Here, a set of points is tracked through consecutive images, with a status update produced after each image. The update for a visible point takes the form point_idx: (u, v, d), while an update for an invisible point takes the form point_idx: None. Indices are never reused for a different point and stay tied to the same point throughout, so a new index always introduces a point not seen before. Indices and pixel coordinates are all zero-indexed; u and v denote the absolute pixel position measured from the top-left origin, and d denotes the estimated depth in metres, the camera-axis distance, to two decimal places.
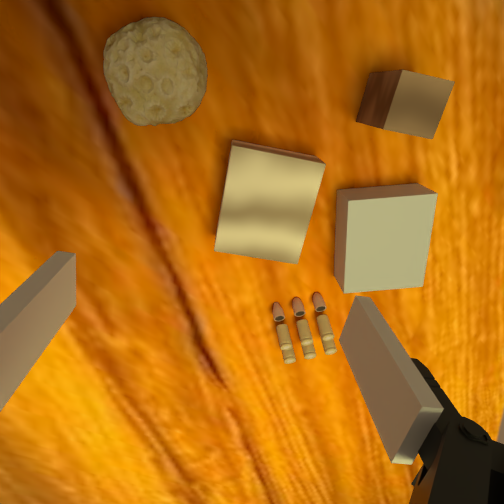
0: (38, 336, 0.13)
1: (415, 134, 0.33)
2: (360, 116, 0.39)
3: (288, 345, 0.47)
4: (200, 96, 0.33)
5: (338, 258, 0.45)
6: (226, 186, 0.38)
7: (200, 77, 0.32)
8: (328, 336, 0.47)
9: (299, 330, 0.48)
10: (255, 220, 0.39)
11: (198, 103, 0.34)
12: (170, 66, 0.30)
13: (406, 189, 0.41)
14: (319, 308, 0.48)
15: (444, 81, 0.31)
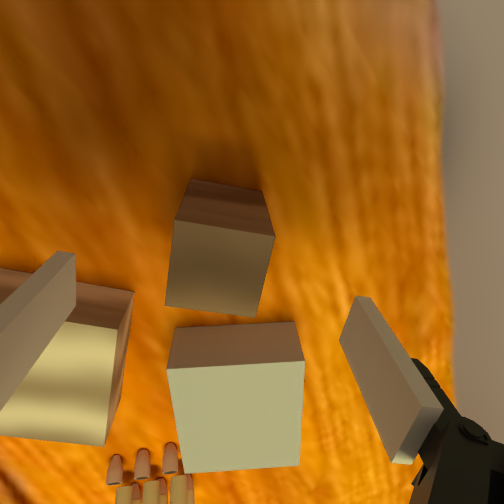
0: (38, 336, 0.13)
1: (223, 311, 0.19)
2: None
3: None
4: None
5: None
6: None
7: None
8: None
9: (143, 499, 0.35)
10: (23, 397, 0.26)
11: None
12: None
13: (269, 339, 0.28)
14: (167, 472, 0.34)
15: (256, 236, 0.18)
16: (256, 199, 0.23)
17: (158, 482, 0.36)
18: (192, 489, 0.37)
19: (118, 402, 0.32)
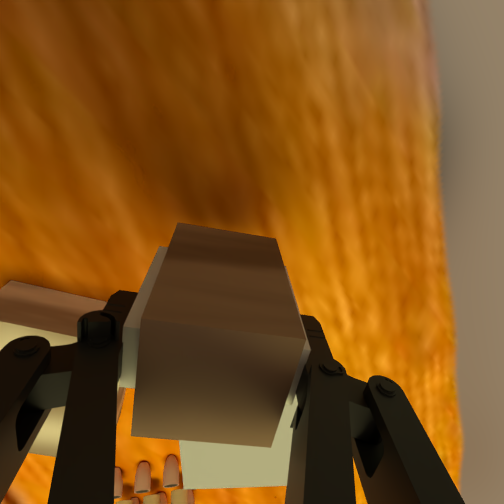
0: None
1: (223, 441, 0.13)
2: None
3: None
4: None
5: None
6: None
7: None
8: None
9: None
10: None
11: None
12: None
13: None
14: (167, 485, 0.33)
15: (275, 339, 0.11)
16: (269, 255, 0.16)
17: (158, 496, 0.35)
18: None
19: (118, 419, 0.32)
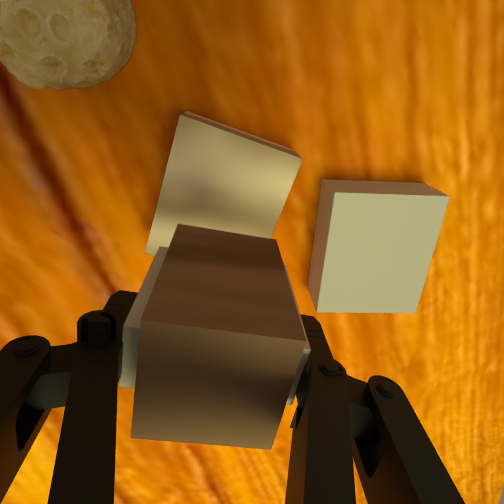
0: None
1: (223, 443, 0.13)
2: None
3: None
4: (117, 48, 0.24)
5: (314, 267, 0.36)
6: (167, 169, 0.28)
7: (114, 19, 0.23)
8: None
9: None
10: (203, 220, 0.30)
11: (116, 59, 0.24)
12: None
13: (409, 187, 0.32)
14: None
15: (275, 341, 0.11)
16: (269, 256, 0.16)
17: None
18: None
19: None
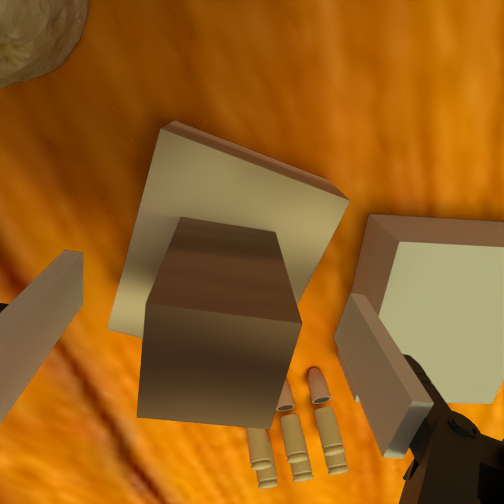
0: (48, 333, 0.13)
1: (224, 423, 0.13)
2: None
3: (264, 465, 0.27)
4: (40, 18, 0.14)
5: None
6: (140, 212, 0.18)
7: None
8: (335, 451, 0.27)
9: (284, 435, 0.28)
10: None
11: (43, 38, 0.14)
12: None
13: (498, 232, 0.22)
14: (318, 400, 0.27)
15: (273, 324, 0.11)
16: (268, 247, 0.17)
17: (298, 417, 0.29)
18: None
19: None
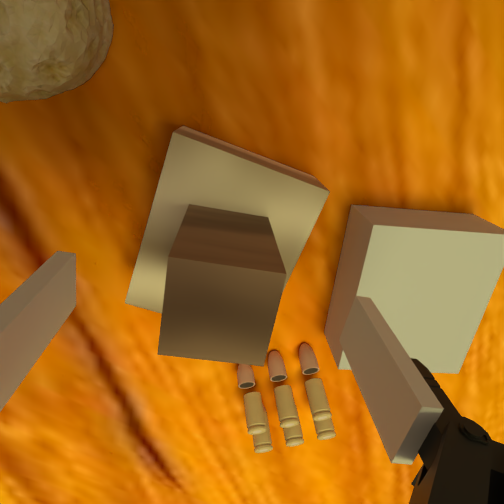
0: (38, 336, 0.13)
1: (226, 360, 0.17)
2: None
3: (260, 429, 0.30)
4: (80, 45, 0.17)
5: (336, 311, 0.29)
6: (155, 201, 0.22)
7: (76, 6, 0.17)
8: (323, 416, 0.30)
9: (278, 403, 0.31)
10: None
11: (81, 60, 0.18)
12: None
13: (461, 220, 0.26)
14: (308, 370, 0.31)
15: (264, 274, 0.15)
16: (262, 227, 0.20)
17: (290, 388, 0.32)
18: None
19: None
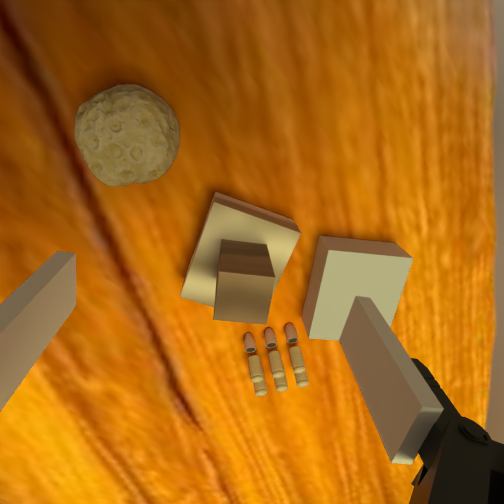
0: (38, 336, 0.13)
1: (247, 321, 0.33)
2: (216, 278, 0.39)
3: (259, 378, 0.46)
4: (170, 160, 0.34)
5: (309, 302, 0.45)
6: (202, 238, 0.38)
7: (170, 142, 0.33)
8: (300, 369, 0.46)
9: (271, 362, 0.47)
10: None
11: (169, 165, 0.35)
12: (139, 135, 0.31)
13: (385, 247, 0.42)
14: (290, 340, 0.47)
15: (264, 277, 0.31)
16: (263, 251, 0.37)
17: (279, 353, 0.48)
18: None
19: None
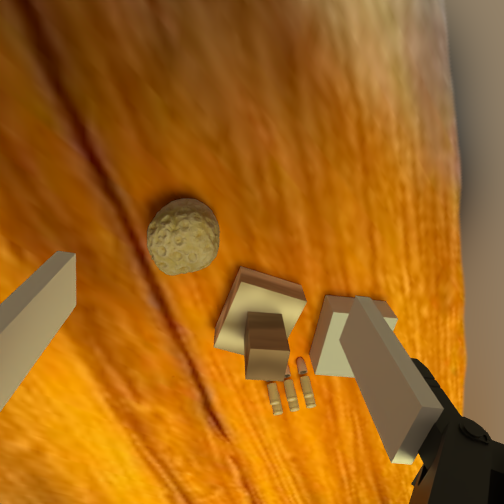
0: (38, 336, 0.13)
1: (270, 379, 0.46)
2: (244, 340, 0.52)
3: (276, 402, 0.59)
4: (215, 256, 0.46)
5: (316, 345, 0.58)
6: (231, 306, 0.50)
7: (215, 245, 0.45)
8: (309, 395, 0.58)
9: (285, 389, 0.60)
10: None
11: None
12: (195, 246, 0.43)
13: None
14: (301, 372, 0.59)
15: (282, 351, 0.44)
16: (279, 322, 0.49)
17: (292, 381, 0.61)
18: None
19: None
